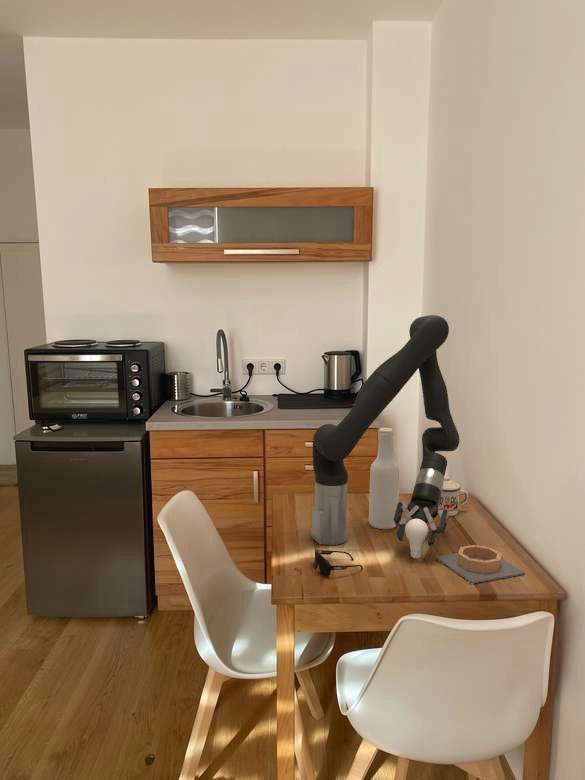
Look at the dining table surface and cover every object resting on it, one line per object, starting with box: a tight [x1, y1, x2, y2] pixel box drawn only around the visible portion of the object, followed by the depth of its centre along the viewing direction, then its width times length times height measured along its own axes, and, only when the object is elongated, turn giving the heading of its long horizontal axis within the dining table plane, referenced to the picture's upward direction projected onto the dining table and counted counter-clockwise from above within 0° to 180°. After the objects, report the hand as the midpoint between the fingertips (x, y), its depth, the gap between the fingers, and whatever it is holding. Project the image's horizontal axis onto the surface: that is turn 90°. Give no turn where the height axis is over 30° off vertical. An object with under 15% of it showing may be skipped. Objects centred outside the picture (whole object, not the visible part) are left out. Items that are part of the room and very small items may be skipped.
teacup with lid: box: [438, 476, 469, 517], centre depth 207 cm, size 12×9×12 cm
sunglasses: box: [314, 548, 364, 578], centre depth 165 cm, size 10×12×5 cm
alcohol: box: [368, 427, 400, 530], centre depth 193 cm, size 9×9×30 cm
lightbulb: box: [404, 519, 429, 560], centre depth 170 cm, size 6×6×11 cm
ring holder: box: [435, 544, 526, 584], centre depth 166 cm, size 16×16×4 cm
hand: (414, 542), depth 169 cm, fingers open, 7 cm apart
